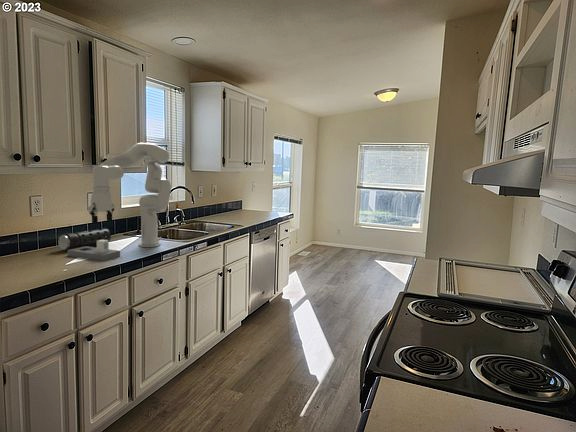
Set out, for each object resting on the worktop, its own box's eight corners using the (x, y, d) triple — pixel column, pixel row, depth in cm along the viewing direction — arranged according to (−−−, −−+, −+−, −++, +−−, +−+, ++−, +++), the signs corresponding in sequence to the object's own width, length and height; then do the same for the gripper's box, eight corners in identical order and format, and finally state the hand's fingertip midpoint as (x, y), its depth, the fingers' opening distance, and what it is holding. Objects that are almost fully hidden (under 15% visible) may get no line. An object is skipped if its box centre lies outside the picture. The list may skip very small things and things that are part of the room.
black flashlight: (111, 245, 237) (111, 228, 236) (68, 253, 212) (68, 235, 211) (100, 243, 241) (100, 227, 240) (57, 251, 216) (56, 233, 215)
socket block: (86, 252, 216) (86, 245, 216) (120, 257, 208) (120, 250, 208) (67, 256, 205) (67, 249, 205) (102, 261, 197) (102, 254, 197)
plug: (102, 256, 207) (102, 239, 206) (109, 257, 206) (109, 240, 205) (97, 257, 203) (96, 240, 202) (103, 258, 202) (103, 241, 201)
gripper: (108, 188, 210) (109, 219, 212) (82, 190, 193) (83, 223, 196) (119, 189, 207) (120, 220, 209) (93, 190, 191) (94, 225, 193)
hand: (102, 222), depth 203 cm, fingers open, 9 cm apart
